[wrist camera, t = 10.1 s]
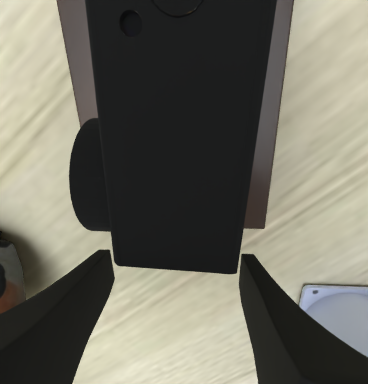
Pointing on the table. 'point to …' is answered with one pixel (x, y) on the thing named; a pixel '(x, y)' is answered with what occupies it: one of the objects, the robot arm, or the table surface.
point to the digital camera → (172, 128)
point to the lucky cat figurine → (10, 277)
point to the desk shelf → (266, 138)
